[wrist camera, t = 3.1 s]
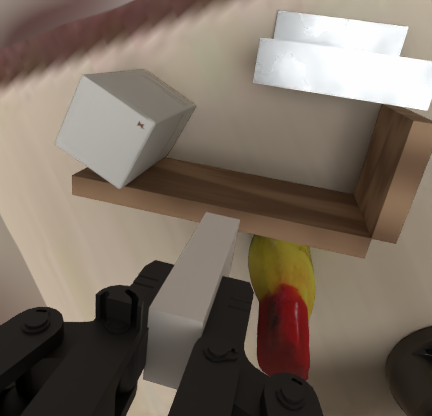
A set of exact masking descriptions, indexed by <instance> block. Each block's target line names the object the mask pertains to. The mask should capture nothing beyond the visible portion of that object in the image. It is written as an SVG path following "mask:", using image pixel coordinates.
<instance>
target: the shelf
mask: <svg viewBox="0 0 432 416" xmlns="http://www.w3.org/2000/svg"><path fill="white" fill-rule="evenodd" d="M431 153H432V121H431V120H429V119H427V118H425V117H423V116H420V115H418V114H416V113H414V112H412V111H410V110H407V109H405V108H403V107H397V106H391V105H385V104H382V106H381V110H380V113H379V116H378V119H377V122H376V125H375V129H374V132H373V135H372V138H371V141H370V144H369V148H368V151H367V154H366V157H365V160H364V164H363V167H362V170H361V173H360V176H359V179H358V183H357V186H356V189H355V192H354V195H353V194H348V193H343V192H338V191H333V190H328V189H323V188H318V187H312V186H307V185H302V184H297V183H292V182H287V181H282V180H277V179H272V178H266V177H261V176H256V175H251V174H246V173H241V172H236V171H231V170H225V169H220V168H215V167H210V166H205V165H200V164H195V163H190V162H184V161H179V160H174V159H169V158H162V159H161V160H159V161H158V162H157V163H155V164H154V165H153V166H151V167H150V168H148V169H147V170H146V171H144V172H143V173H142V174H140V175H139V176H138V177H136V178H135V179H134V180H132V181H131V182H129V183H128V184H127V185H125V186H124V187H122V188H121V189H118V188H116V187H115V186H114V185H112V184H111V183H110V182H108V181H107V180H105V179H104V178H102V177H101V176H100V175H98V174H97V173H96V172H94V171H93V170H91V169H90V168H88V167H87V168H85V169H83V170H82V171H80V172H78V173H76V174H74V175H72V195H77V196H81V197H86V198H91V199H95V200H100V201H104V202H109V203H113V204H118V205H122V206H127V207H132V208H136V209H141V210H145V211H150V212H154V213H159V214H164V215H168V216H173V217H177V218H182V219H186V220H191V221H196V222H201V220H202V218H203V217H204V215H205V213H206V212H208V213H213V214H217V215H222V216H226V217H231V218H235V219H240V223H239V228H238V231H241V232H246V233H250V234H255V235H259V236H264V237H269V238H273V239H278V240H282V241H287V242H291V243H296V244H301V245H305V246H310V247H314V248H319V249H323V250H328V251H332V252H337V253H342V254H346V255H351V256H355V257H360V258H365V256H366V253H367V250H368V247H369V244H370V242H371V239H376V240H380V241H385V242H390V243H395V244H396V242H397V240H398V237H399V235H400V232H401V230H402V227H403V225H404V222H405V219H406V217H407V214H408V212H409V209H410V207H411V204H412V201H413V199H414V196H415V194H416V191H417V189H418V186H419V184H420V181H421V178H422V176H423V173H424V171H425V168H426V166H427V163H428V161H429V158H430V155H431Z"/></svg>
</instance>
